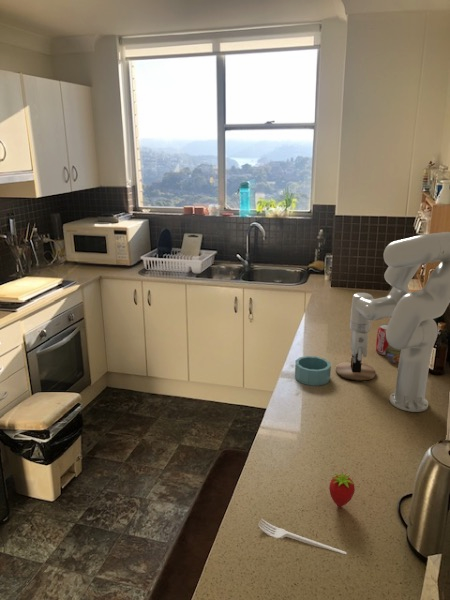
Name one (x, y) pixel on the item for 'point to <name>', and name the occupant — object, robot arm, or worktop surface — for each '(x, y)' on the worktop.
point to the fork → (293, 536)
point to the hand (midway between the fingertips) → (355, 369)
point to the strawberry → (341, 489)
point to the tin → (392, 354)
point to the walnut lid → (346, 372)
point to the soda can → (381, 339)
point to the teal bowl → (312, 370)
